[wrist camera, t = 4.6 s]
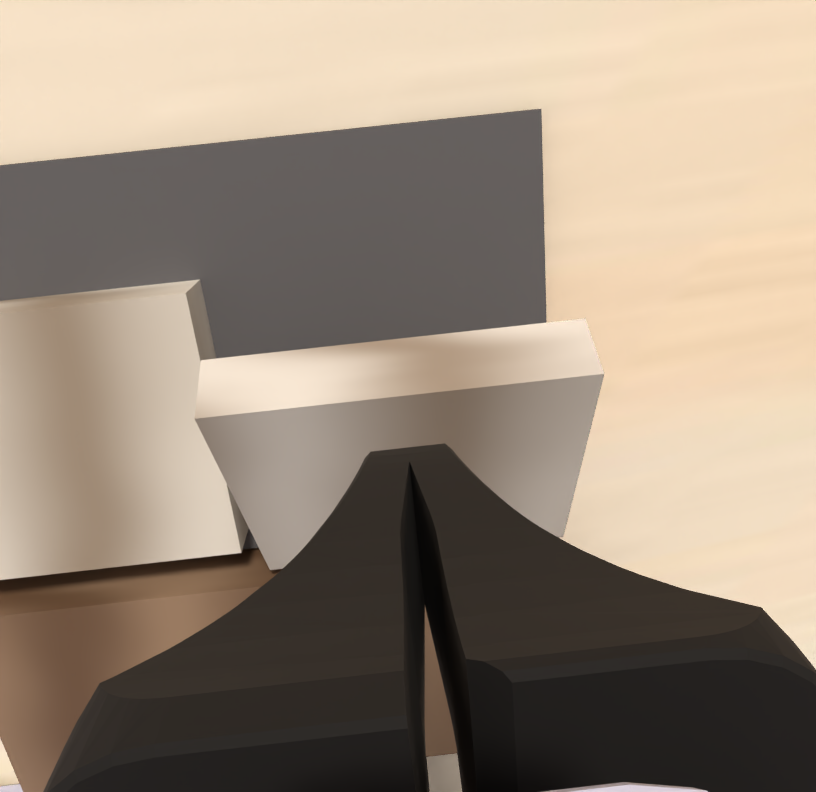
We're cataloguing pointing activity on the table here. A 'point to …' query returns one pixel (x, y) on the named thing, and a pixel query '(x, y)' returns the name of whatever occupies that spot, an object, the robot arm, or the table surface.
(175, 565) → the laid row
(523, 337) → the plank
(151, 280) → the gray rectangular panel
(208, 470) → the plank
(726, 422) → the table surface
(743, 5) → the table surface
